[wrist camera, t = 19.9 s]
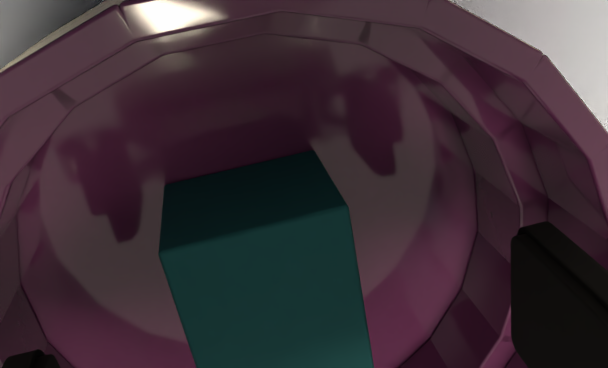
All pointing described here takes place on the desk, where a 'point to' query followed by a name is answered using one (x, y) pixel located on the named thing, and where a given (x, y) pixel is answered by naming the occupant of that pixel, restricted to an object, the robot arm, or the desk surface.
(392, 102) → the bowl
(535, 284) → the robot arm
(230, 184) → the eraser
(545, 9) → the desk surface
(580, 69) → the desk surface
